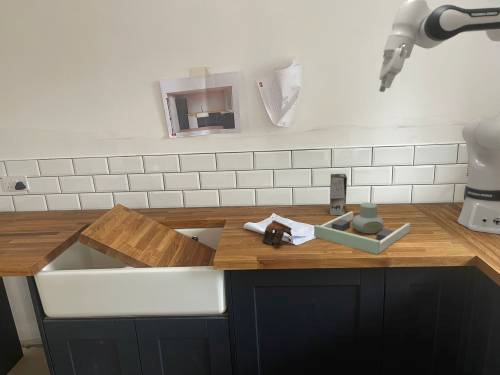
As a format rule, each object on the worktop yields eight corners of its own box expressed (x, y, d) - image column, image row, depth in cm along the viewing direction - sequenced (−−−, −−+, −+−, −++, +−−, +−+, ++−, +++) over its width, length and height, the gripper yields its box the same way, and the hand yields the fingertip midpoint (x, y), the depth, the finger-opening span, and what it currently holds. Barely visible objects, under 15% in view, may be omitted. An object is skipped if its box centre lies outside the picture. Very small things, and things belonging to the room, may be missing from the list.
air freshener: (357, 236, 121) (358, 208, 118) (348, 228, 129) (349, 202, 126) (387, 234, 121) (389, 207, 119) (377, 226, 129) (378, 200, 127)
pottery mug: (258, 238, 122) (268, 217, 123) (283, 249, 123) (292, 228, 123) (263, 243, 110) (273, 219, 111) (289, 255, 111) (300, 231, 111)
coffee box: (345, 215, 143) (347, 177, 139) (329, 215, 144) (331, 177, 140) (344, 209, 151) (345, 173, 148) (329, 208, 153) (330, 173, 149)
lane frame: (409, 231, 123) (410, 220, 122) (377, 254, 105) (377, 242, 104) (350, 218, 139) (351, 208, 138) (314, 236, 121) (314, 225, 120)
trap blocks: (395, 238, 117) (395, 231, 116) (387, 243, 113) (388, 236, 112) (340, 225, 131) (340, 219, 131) (331, 229, 127) (332, 223, 127)
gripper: (416, 43, 107) (400, 87, 110) (400, 58, 127) (387, 95, 130) (395, 38, 108) (380, 82, 111) (383, 54, 128) (370, 91, 131)
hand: (384, 89), depth 120 cm, fingers open, 8 cm apart
